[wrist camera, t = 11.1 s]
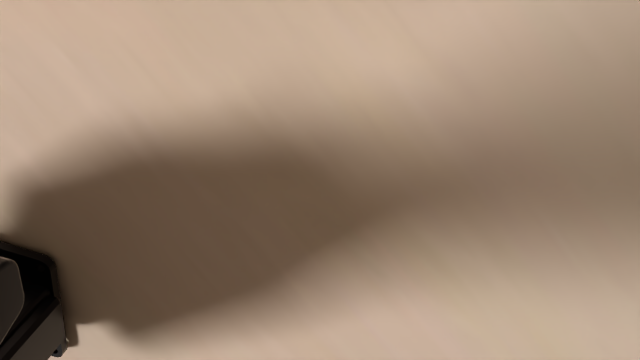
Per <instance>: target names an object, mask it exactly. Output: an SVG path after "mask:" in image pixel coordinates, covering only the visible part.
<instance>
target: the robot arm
mask: <svg viewBox="0 0 640 360" xmlns="http://www.w3.org/2000/svg"><path fill="white" fill-rule="evenodd" d="M66 350H67V343H66V335H65V328H64V321H63V314H62V307H61V300H60V292H59V285H58V278H57V271H56V265H55V263H54V261H53V260H52V259H51V258H50V257H48V256H46V255H43V254H40V253H37V252H33V251H30V250H27V249H23V248H20V247H17V246H13V245H10V244H7V243H3V242H0V360H48V358H49V357H50V356H54V357H61V356H62V355H63V353H64V352H65V351H66Z"/></svg>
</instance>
